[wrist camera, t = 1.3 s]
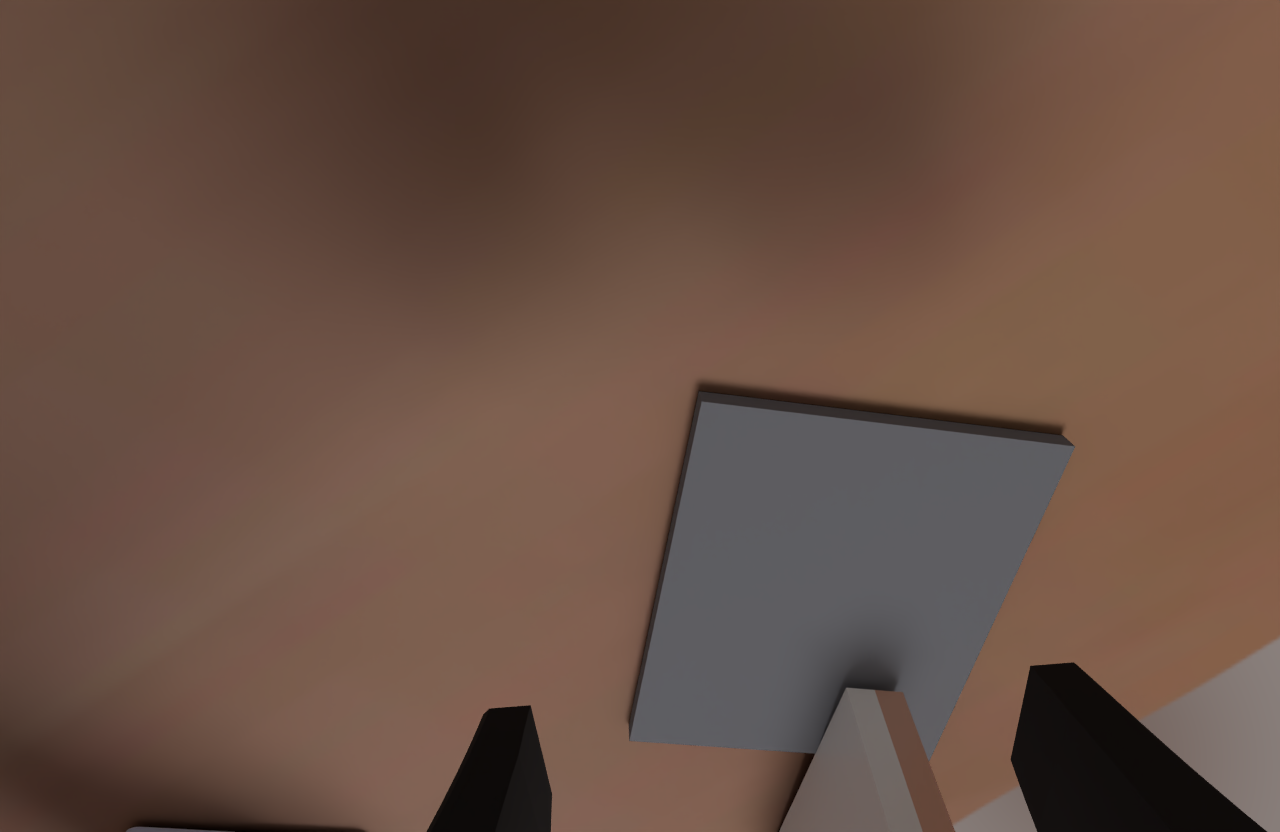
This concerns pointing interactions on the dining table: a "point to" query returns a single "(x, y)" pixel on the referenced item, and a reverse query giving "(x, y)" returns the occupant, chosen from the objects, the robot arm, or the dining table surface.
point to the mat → (831, 568)
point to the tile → (869, 773)
